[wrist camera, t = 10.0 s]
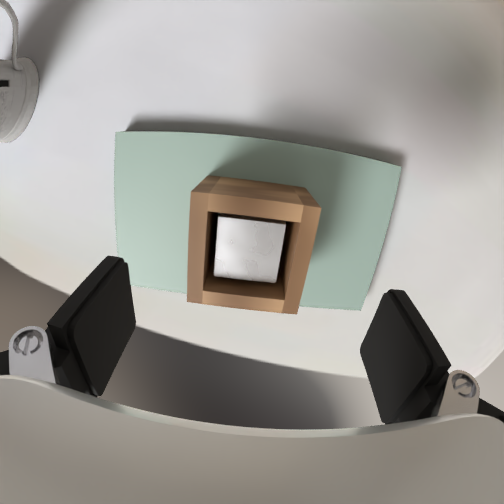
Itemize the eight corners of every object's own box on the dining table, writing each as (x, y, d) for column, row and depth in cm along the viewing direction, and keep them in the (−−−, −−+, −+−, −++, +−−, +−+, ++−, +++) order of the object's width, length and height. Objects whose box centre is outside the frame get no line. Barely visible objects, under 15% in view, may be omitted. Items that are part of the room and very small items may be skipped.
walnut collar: (305, 187, 18) (321, 208, 14) (288, 273, 21) (296, 314, 16) (207, 175, 18) (190, 191, 13) (201, 263, 20) (187, 301, 16)
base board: (392, 164, 19) (401, 167, 17) (355, 300, 23) (360, 310, 22) (124, 131, 18) (115, 132, 16) (127, 275, 23) (120, 283, 21)
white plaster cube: (280, 205, 19) (286, 224, 15) (272, 254, 20) (275, 283, 16) (226, 198, 18) (218, 216, 15) (221, 248, 20) (213, 276, 16)
